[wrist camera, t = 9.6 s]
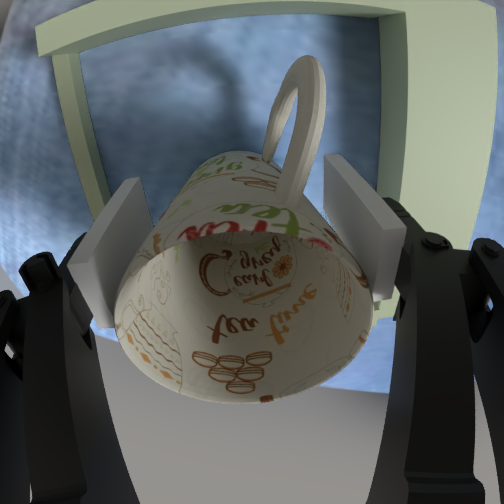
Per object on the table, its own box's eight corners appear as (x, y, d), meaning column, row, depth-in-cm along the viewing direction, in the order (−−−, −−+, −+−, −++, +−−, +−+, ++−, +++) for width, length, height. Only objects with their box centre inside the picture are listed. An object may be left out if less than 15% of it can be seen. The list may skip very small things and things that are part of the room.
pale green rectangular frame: (58, 27, 11) (17, 26, 8) (463, 8, 11) (507, 8, 7) (140, 312, 22) (129, 354, 19) (430, 278, 22) (453, 314, 19)
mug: (158, 247, 19) (120, 388, 11) (195, 36, 12) (136, 6, 4) (286, 270, 21) (315, 408, 13) (355, 79, 14) (486, 124, 6)
